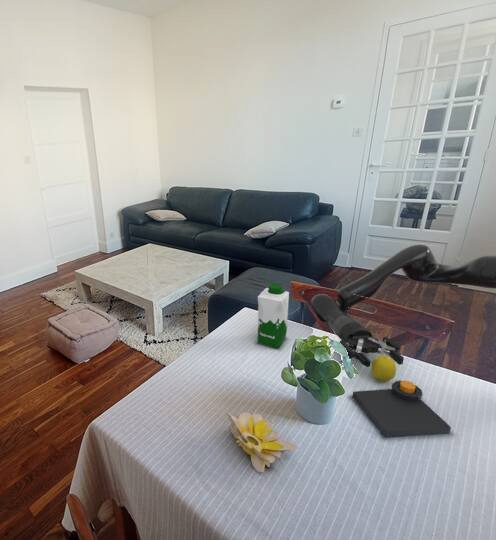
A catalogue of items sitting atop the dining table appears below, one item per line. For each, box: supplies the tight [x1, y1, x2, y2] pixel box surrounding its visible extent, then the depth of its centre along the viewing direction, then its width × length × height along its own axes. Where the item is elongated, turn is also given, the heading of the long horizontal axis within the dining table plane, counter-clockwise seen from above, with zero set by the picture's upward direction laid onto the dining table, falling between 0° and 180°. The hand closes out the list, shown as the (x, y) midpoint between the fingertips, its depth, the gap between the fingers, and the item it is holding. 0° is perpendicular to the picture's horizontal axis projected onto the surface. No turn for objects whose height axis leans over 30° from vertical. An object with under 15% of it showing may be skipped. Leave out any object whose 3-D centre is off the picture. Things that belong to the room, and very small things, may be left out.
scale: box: [351, 380, 452, 438], centre depth 82 cm, size 15×14×4 cm
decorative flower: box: [225, 410, 297, 473], centre depth 75 cm, size 15×11×10 cm
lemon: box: [370, 355, 397, 382], centre depth 92 cm, size 6×6×8 cm
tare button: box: [399, 380, 416, 394], centre depth 85 cm, size 3×3×2 cm
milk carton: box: [257, 283, 290, 350], centre depth 113 cm, size 9×9×20 cm
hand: (385, 363), depth 91 cm, fingers open, 8 cm apart
